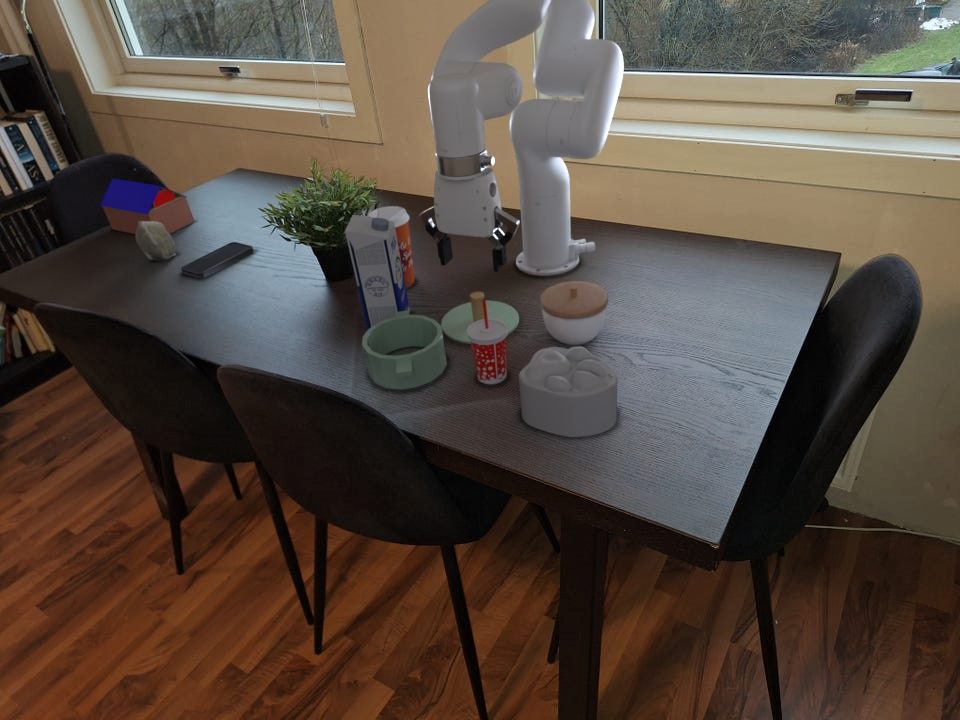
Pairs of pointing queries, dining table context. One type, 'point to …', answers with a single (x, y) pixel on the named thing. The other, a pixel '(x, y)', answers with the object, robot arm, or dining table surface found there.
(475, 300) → the lid
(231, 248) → the phone
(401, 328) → the pot
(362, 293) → the milk carton
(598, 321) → the trinket box
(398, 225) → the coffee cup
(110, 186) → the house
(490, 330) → the beverage cup
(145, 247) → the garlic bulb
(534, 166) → the robot arm
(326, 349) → the dining table surface
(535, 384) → the lumpy-topped squat cylinder
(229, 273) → the dining table surface
